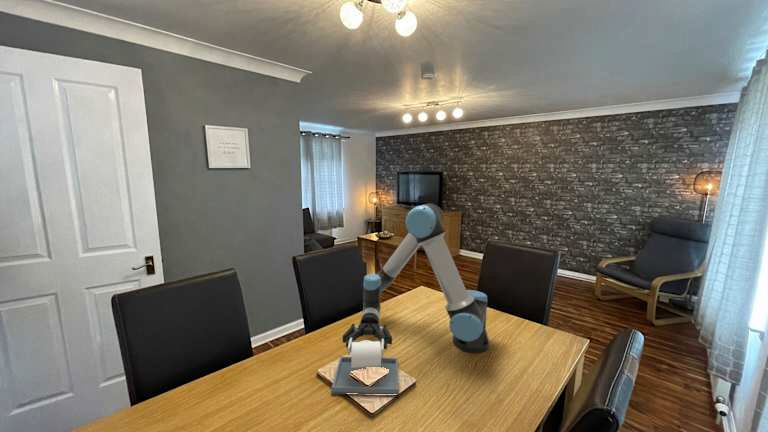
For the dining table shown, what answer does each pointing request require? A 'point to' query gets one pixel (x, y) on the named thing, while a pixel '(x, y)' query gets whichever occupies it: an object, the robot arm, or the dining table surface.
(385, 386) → the tray
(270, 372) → the dining table surface
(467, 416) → the dining table surface
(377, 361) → the mug
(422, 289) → the dining table surface
